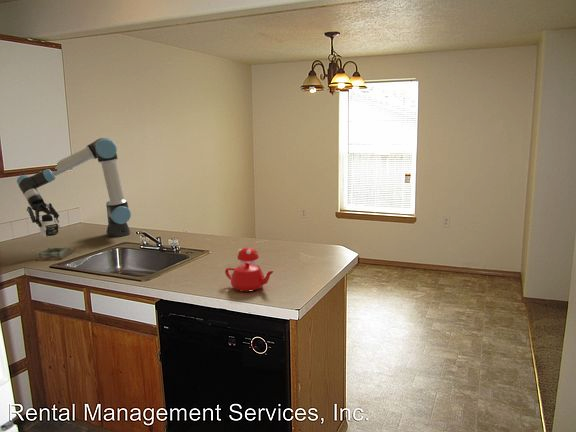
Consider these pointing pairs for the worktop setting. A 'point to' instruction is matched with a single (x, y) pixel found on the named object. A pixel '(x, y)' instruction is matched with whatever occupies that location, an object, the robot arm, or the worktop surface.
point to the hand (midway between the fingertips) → (52, 229)
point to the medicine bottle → (49, 226)
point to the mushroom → (247, 255)
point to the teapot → (247, 277)
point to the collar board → (54, 254)
